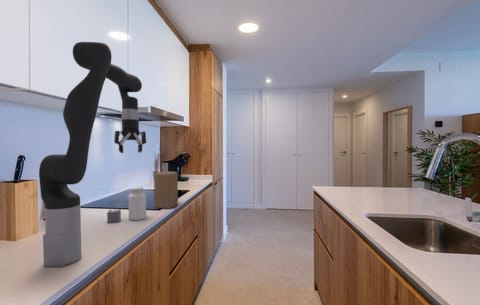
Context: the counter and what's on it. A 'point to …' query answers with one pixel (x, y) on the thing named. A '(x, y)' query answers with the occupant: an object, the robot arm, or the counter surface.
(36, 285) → the counter surface
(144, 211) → the pill bottle
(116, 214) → the number cube
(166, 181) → the wooden block
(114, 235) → the counter surface
